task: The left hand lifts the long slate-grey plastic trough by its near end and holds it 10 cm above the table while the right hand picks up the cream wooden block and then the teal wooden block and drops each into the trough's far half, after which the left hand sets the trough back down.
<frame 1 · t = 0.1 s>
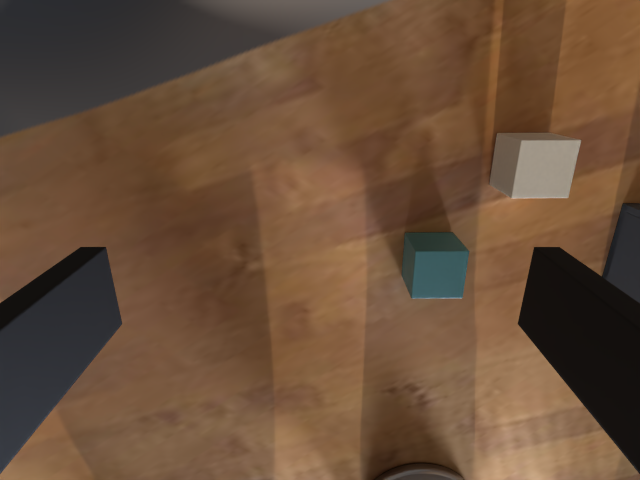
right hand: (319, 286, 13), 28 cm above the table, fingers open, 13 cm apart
cream block: (518, 159, 39), on the table
teal block: (426, 254, 43), on the table
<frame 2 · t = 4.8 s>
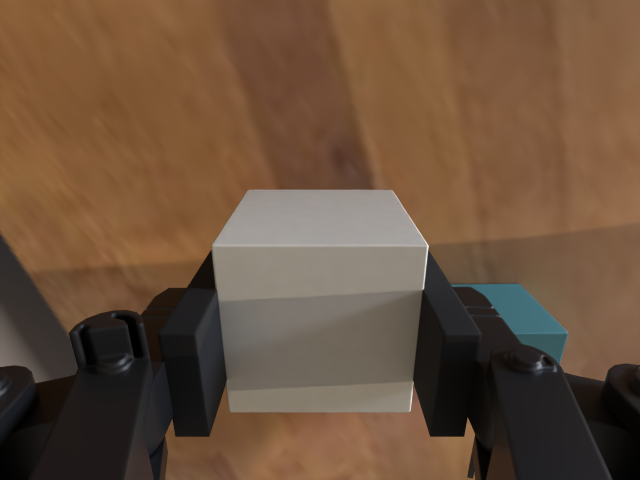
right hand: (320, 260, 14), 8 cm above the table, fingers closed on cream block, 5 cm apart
cream block: (319, 255, 15), point 8 cm above the table, touching right hand
teal block: (472, 319, 25), on the table
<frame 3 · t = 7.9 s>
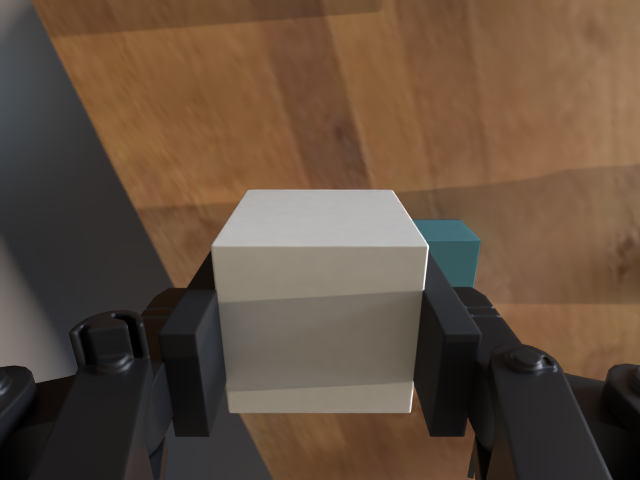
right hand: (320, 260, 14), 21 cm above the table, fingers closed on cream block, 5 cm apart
cream block: (319, 255, 15), point 20 cm above the table, touching right hand
teal block: (429, 245, 37), on the table
when the right hand's fingers open (18 cm above the table, at t = 11.5 s): cream block drops 17 cm, resting on trough.
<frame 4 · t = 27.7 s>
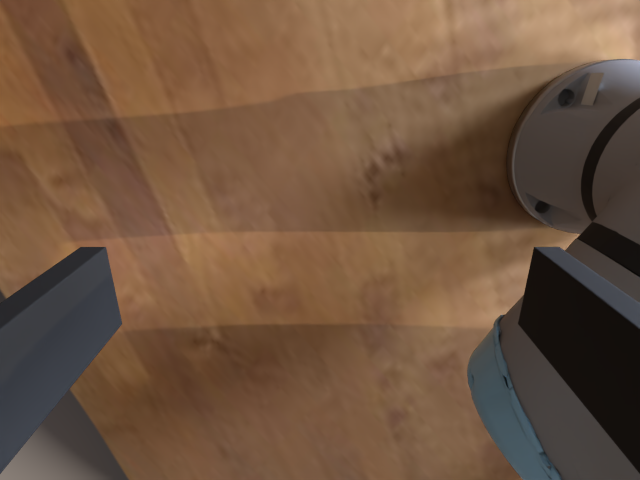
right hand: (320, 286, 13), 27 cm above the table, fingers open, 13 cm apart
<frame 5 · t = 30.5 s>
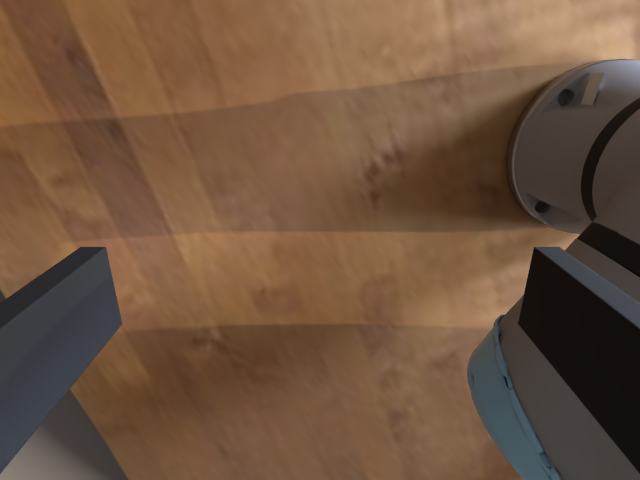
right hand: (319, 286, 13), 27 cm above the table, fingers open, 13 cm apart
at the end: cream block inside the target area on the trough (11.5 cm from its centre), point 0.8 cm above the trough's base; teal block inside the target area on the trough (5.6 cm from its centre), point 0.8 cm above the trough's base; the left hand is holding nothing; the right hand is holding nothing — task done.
